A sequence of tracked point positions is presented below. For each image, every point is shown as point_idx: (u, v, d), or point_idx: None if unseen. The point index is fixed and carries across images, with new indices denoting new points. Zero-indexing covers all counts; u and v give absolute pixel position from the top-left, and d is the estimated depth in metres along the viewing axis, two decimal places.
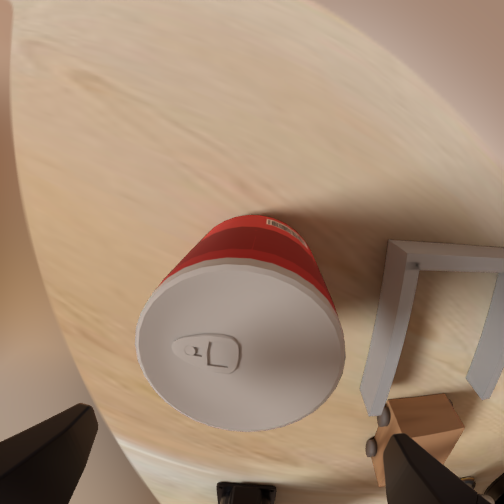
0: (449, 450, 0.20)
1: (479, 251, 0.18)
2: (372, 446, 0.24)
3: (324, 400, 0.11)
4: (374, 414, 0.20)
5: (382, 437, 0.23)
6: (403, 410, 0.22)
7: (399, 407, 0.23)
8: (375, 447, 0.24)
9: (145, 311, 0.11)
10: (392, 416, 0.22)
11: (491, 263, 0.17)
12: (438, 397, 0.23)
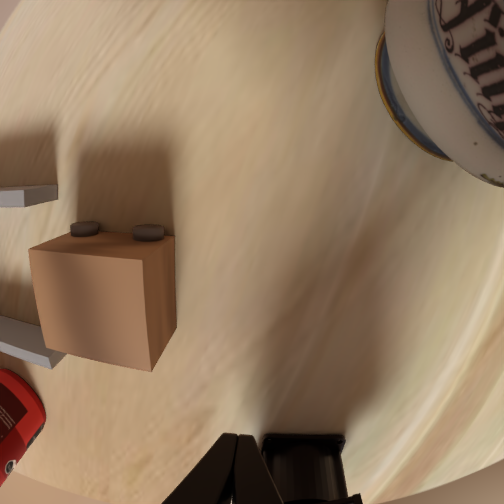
0: (69, 259, 0.14)
1: None
2: None
3: None
4: (48, 364, 0.18)
5: None
6: None
7: None
8: None
9: None
10: None
11: None
12: None
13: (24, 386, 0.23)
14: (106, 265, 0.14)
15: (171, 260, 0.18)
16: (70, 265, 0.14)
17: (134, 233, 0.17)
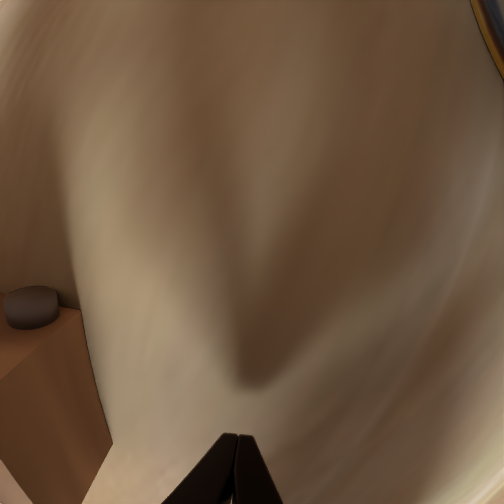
0: None
1: None
2: None
3: None
4: None
5: None
6: None
7: None
8: None
9: None
10: None
11: None
12: None
13: None
14: None
15: (75, 357, 0.08)
16: None
17: (4, 310, 0.07)
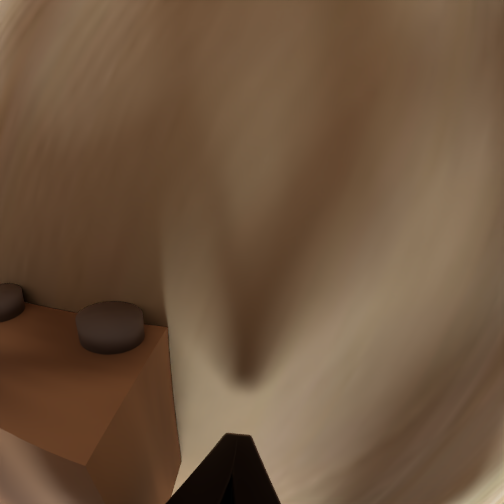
0: None
1: None
2: None
3: None
4: None
5: None
6: None
7: None
8: None
9: None
10: None
11: None
12: None
13: None
14: (11, 444, 0.04)
15: (162, 378, 0.08)
16: None
17: (78, 332, 0.07)
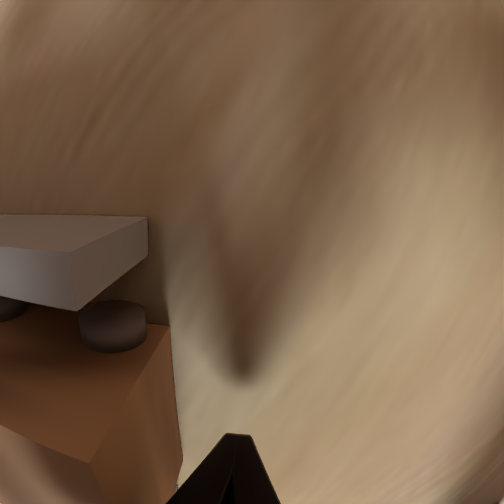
0: None
1: None
2: None
3: None
4: None
5: None
6: None
7: None
8: None
9: None
10: None
11: None
12: None
13: None
14: (15, 442, 0.04)
15: (165, 377, 0.08)
16: None
17: (81, 331, 0.07)
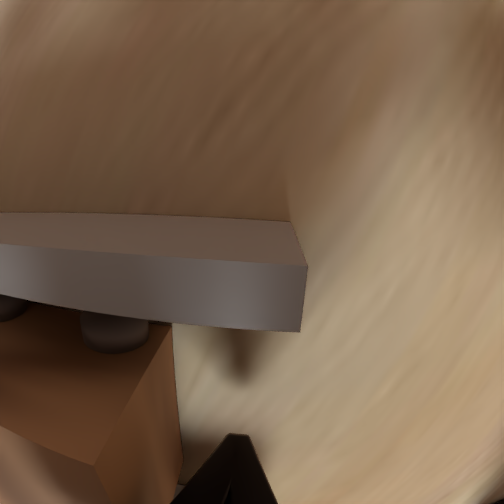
0: None
1: None
2: None
3: None
4: None
5: None
6: None
7: None
8: None
9: None
10: None
11: None
12: None
13: None
14: (16, 444, 0.04)
15: (167, 377, 0.08)
16: None
17: (83, 331, 0.07)
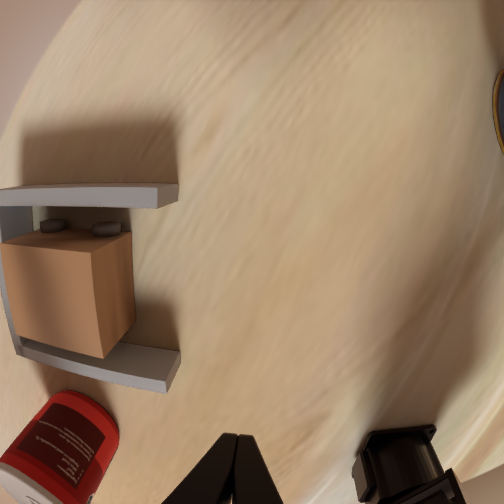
0: (32, 251, 0.14)
1: None
2: None
3: (31, 487, 0.12)
4: (163, 388, 0.18)
5: None
6: None
7: None
8: None
9: None
10: None
11: (0, 267, 0.17)
12: None
13: (98, 409, 0.22)
14: (61, 257, 0.14)
15: (127, 254, 0.19)
16: (33, 257, 0.14)
17: (93, 229, 0.17)
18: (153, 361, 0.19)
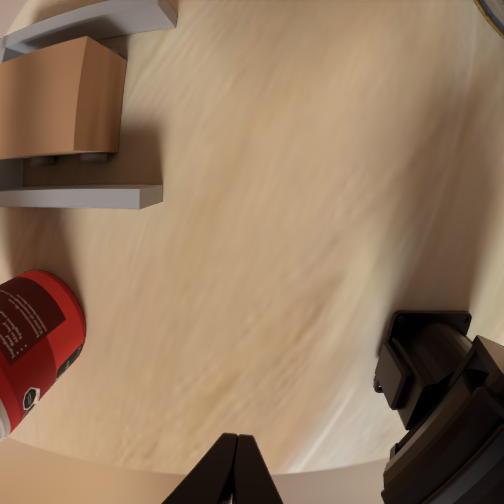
0: (29, 56, 0.12)
1: None
2: (79, 161, 0.17)
3: None
4: (136, 201, 0.15)
5: (58, 154, 0.16)
6: None
7: None
8: None
9: None
10: (23, 157, 0.16)
11: None
12: None
13: (63, 287, 0.20)
14: (57, 50, 0.12)
15: (119, 76, 0.16)
16: (28, 62, 0.12)
17: None
18: (130, 186, 0.17)
